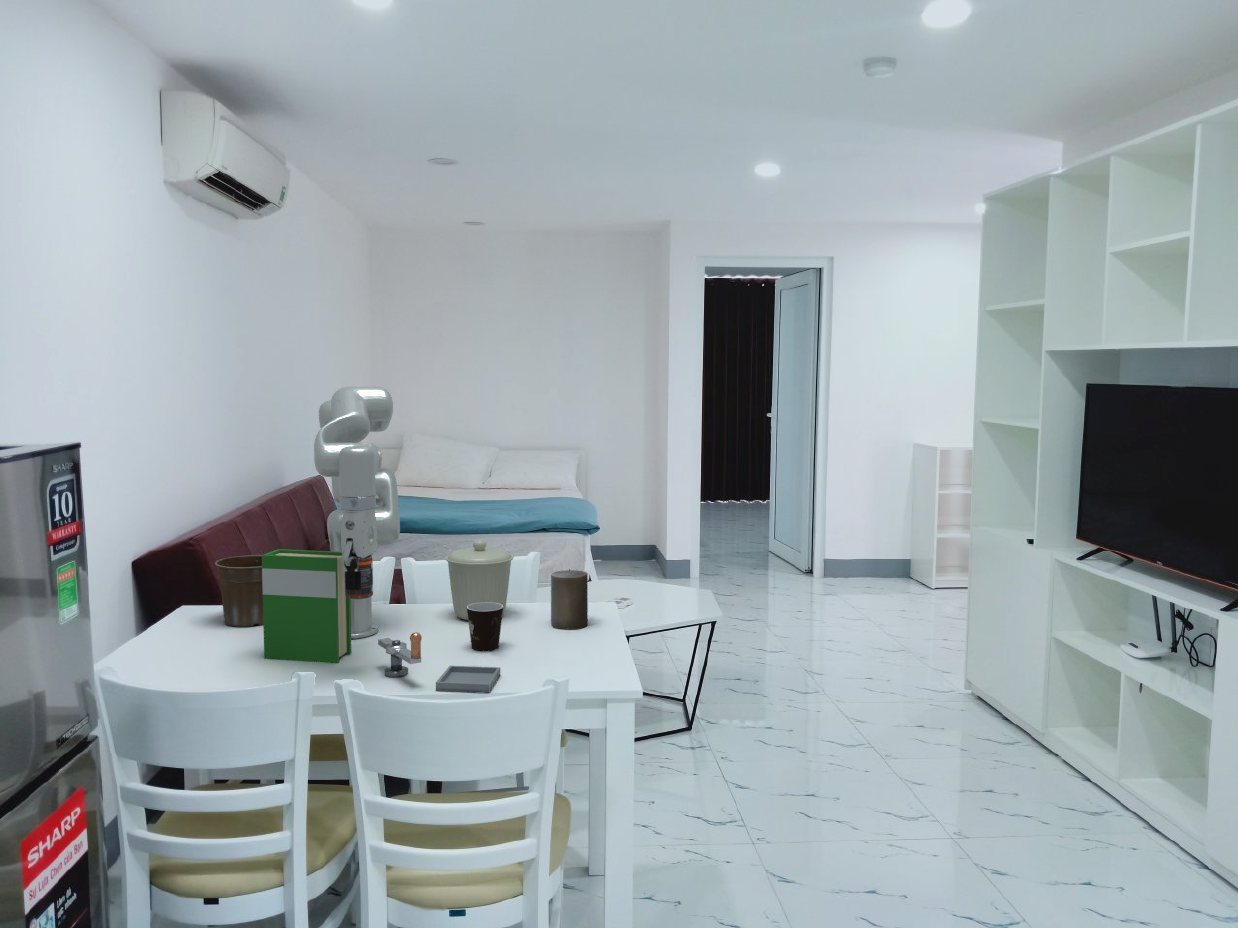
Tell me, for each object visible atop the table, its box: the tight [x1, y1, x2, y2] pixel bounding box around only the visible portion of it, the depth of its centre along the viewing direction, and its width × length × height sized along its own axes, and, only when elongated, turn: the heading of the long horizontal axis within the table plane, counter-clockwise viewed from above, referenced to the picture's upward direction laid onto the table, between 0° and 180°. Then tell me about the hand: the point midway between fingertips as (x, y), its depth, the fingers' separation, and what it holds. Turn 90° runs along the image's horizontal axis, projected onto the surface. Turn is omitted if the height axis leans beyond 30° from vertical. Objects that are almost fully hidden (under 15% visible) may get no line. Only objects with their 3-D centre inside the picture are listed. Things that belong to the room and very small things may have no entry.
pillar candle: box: [550, 568, 589, 630], centre depth 243 cm, size 10×10×15 cm
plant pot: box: [214, 554, 263, 628], centre depth 242 cm, size 16×16×16 cm
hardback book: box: [261, 548, 353, 664], centre depth 213 cm, size 18×7×24 cm, turn 81°
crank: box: [377, 631, 423, 665], centre depth 200 cm, size 18×4×7 cm, turn 37°
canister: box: [444, 538, 515, 621], centre depth 250 cm, size 18×18×21 cm
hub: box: [384, 654, 409, 679], centre depth 202 cm, size 5×5×5 cm
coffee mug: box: [467, 602, 504, 653], centre depth 221 cm, size 12×9×10 cm
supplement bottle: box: [344, 554, 374, 599], centre depth 202 cm, size 6×6×11 cm
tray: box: [435, 665, 501, 694], centre depth 197 cm, size 11×11×2 cm
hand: (359, 584), depth 202 cm, fingers closed on supplement bottle, 6 cm apart
